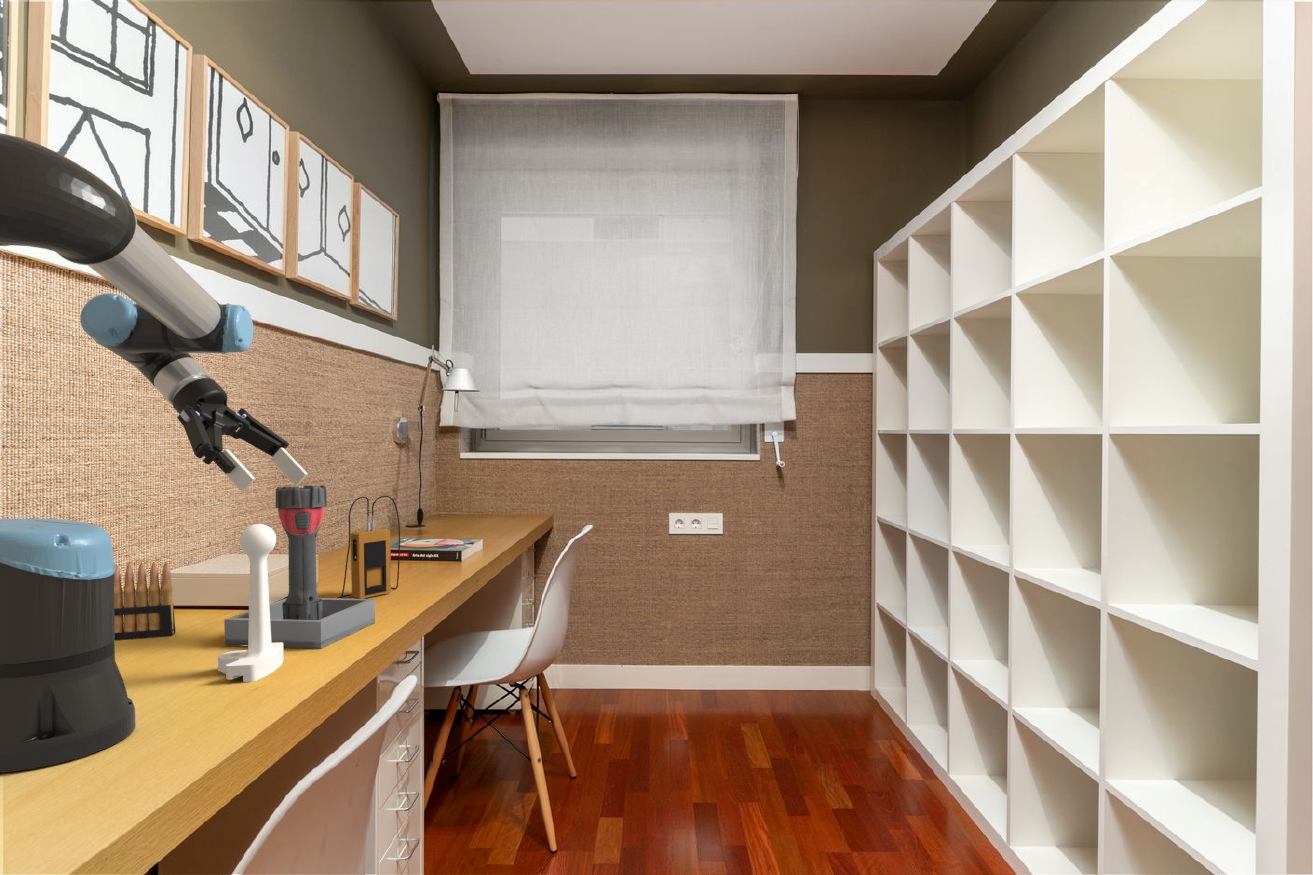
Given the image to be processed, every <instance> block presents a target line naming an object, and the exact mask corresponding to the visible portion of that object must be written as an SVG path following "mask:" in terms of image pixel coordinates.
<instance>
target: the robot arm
mask: <svg viewBox="0 0 1313 875" xmlns="http://www.w3.org/2000/svg"><path fill="white" fill-rule="evenodd" d="M137 219H138V218H137V216H136V213H135V211H134V209H133V208H132V206H131V205H130V204H129V202H127V200H125V199H124V198H123V197H122V196H121V195H120V194H119V192H117V191H116V190H115V189H113V188H112V187H111V186H110V185H109V184H108V183H106V182H105V181H104V180H103V179H101V178H100V177H98V176H97V175H96V174H94V173H92V172H91V171H89V170H88V169H87V168H85V167H84V166H81V165H80V164H78V163H77V162H75V161H73V160H71V159H70V158H67V156H65V155H63V154H62V153H61V154H60V153H58V152H57V151H55V150H53V149H50V148H48V147H46V146H43V145H42V144H40V143H36V142H33V141H31V140H28V139H25V138H22V137H20V136H14V135H11V134H6V133H2V132H1V133H0V247H9V246H19V247H20V246H21V247H31V248H38V249H44V250H49V251H52V252H55V253H56V254H58V255H59V256H60V257H61V258H63V259H65V260H66V261H67V262H71V263H73V264H76V265H83V266H88V267H89V268H91V269H92V270H93V271H95V272H96V273H97V274H98V275H100V276H101V277H102V278H103V279H105V280H106V281H107V282H108V283H110V284H111V285H113V286H114V287H115V288H116V289H118V290H119V291H120V292H121V293H123V294H124V295H125V296H126V297H128V298H125V297H123V296H122V295H119V294H116V293H102V294H97V295H96V296H93V297H92V298H91V299H89V300H88V301H87V302H86V303H85V305H83V307H82V309H81V311H80V312H81V313H80V317H79V318H80V320H79V321H80V325H81V328H82V330H83V332H85V333H86V335H88V336H89V337H90V338H92V339H93V340H94V341H95V343H97V345H99V346H102V347H104V348H106V349H107V350H109V351H110V352H112V353H114V354H116V355H117V356H119V357H120V358H121V359H123V360H124V361H126V362H127V363H128V364H131V365H132V366H133V367H135V368H136V369H137V370H138V371H139V372H140V373H141V374H142V375H143V376H144V377H145V378H146V380H147V381H149V382H150V383H151V385H152V386H153V387H154V388H155V389H156V390H157V391H158V392H159V393H160V394H161V395H162V396H163V397H162V398H163V399H164V400H165V401H167V402H168V403H169V405H172V407H173V408H174V410H175V411H176V412H177V413H178V415H177V417H176V418H177V420H178V421H179V423H180V424H181V425H182V426H183V428H184V431H185V433H186V435H187V438H188V441H189V444H190V447H191V449H192V452H193V454H194V456H195V457H197V458H198V459H202V461H203V463H204V464H206V465H210V464H211V465H212V462H214V463H215V465H216V466H217V467H218V468H219V469H220V470H221V471H222V473H223V474H225V475H226V476H227V477H228V478H229V480H230V481H231V482H232V483H233V484H234V485H235V487H237V489H238V490H239V491H241V493H242V492H246V491H247V489H248V488H249V487H250V486H252V484H253V483H254V482H255V481H256V480H257V478H256V477H255V476H254V475H253V474H252V473H251V472H250V471H249V469H248V468H246V467H245V465H244V464H243V463H242V462H241V461H240V460H239V459H238V458H237V457H236V456H235V455H234V453H232V452H231V450H230V449H224V446H223V436H229V437H231V438H233V439H235V440H239V439H241V440H242V441H244V442H245V443H247V444H249V445H251V446H253V447H254V448H257V449H258V450H259V451H262V452H264V453H265V454H267V455H269V456H271V458H270V460H271V461H272V462H273V464H275V466H277V467H278V469H279V470H280V471H281V472H283V474H284V475H285V476H286V477H287V478H288V479H289V480H290V482H292V484H293V485H294V487H298V486H300V484H301V483H302V482H303V481H304V479H305V478H306V477H307V476H308V475H309V474H308V472H307V471H306V470H305V469H304V468H303V467H302V466H301V465H300V463H298V462H297V460H296V459H294V458H293V456H292V455H290V453H289V452H288V451H287V450H286V449H287V448H288V447H289V445H290V442H288V441H287V440H285V439H284V438H282V437H281V436H280V435H278V434H277V433H275V432H274V431H273V430H272V429H270V428H268V427H267V426H266V425H264V424H263V423H262V422H260V421H259V420H257V419H256V418H254V417H253V416H252V415H251V414H250V413H249V412H248V411H247V410H246V409H245V408H239V409H238V410H237V411H235V410H233V409H232V408H230V407H229V406H228V393H227V392H226V391H225V390H224V388H223V387H221V385H219V383H218V382H217V381H216V380H215V379H213V378H212V376H211V374H210V372H208V371H207V370H206V369H205V368H204V367H203V366H202V365H201V364H200V363H199V362H198V361H197V360H196V359H195V358H194V357H193V356H192V355H191V354H224V355H226V354H228V353H244V352H246V351H248V350H249V348H250V347H251V346H252V343H253V339H254V322H253V318H252V315H251V314H250V311H249V310H248V309H247V308H246V307H245V306H243V305H240V304H231V303H225V304H222V303H221V304H220V303H219V302H218V301H217V300H216V299H215V298H214V297H213V296H212V295H211V294H210V293H209V292H208V291H207V290H206V289H205V288H203V287H202V285H201V284H199V283H198V282H197V281H196V280H195V278H193V277H192V276H191V275H190V273H188V272H187V271H186V270H185V269H184V268H183V267H182V266H181V265H179V263H178V262H177V261H176V260H175V259H174V258H173V257H171V255H170V254H168V252H166V251H165V250H164V249H163V248H162V247H161V246H160V244H158V243H157V242H156V241H155V240H154V239H153V238H152V237H151V236H150V235H148V233H146V231H145V230H144V229H142V228H141V226H140V225H139V224H138V220H137ZM133 302H134V303H133ZM190 353H191V354H190ZM223 449H224V450H223ZM203 457H204V458H203ZM113 552H114V551H113V543H112V538H111V536H110V535H109V533H108V532H107V530H105V529H104V528H101V527H100V526H98V525H96V524H93V523H88V522H83V521H77V520H75V521H74V520H68V519H55V518H54V519H53V518H21V517H20V518H2V519H0V773H8V772H10V773H11V772H18V771H24V770H25V771H26V770H32V769H36V768H43V767H47V766H52V765H56V764H61V763H65V762H68V761H71V760H76V759H80V758H83V757H85V756H88V755H89V756H90V755H92V754H94V753H97V752H100V751H102V750H104V749H105V750H106V749H107V748H110V747H111V746H114V745H116V744H118V743H119V742H121V741H123V740H125V739H126V738H127V737H129V736H130V735H131V734H133V732H134V730H135V729H136V708H135V704H134V702H133V700H132V699H131V698H129V697H128V693H127V688H126V685H125V682H124V680H123V676H122V674H121V672H120V669H119V666H118V664H117V661H116V654H115V648H116V647H115V641H114V639H115V633H114V572H115V569H116V568H115V564H116V563H115V560H114V553H113Z"/></svg>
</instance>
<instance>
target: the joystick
mask: <svg viewBox="0 0 1313 875" xmlns="http://www.w3.org/2000/svg"><path fill="white" fill-rule="evenodd" d="M276 542H277V535H276V533H275V531H274V529H272V528H271V527H270V526H268V525H266V524H262V523H257V524H256V523H255V524H251V525H249V526H247V527H246V528H245V529H244V530H243V531H242V533H241V534H240V538H239V546H240V548H241V550H242V551H243V552H244V553H245V555H247V557H248V559H249V588H248V590H249V594H248V596H249V597H248V599H249V600H248V611H249V631H248V646H247V649H246V650H244V649H243V650H241V649H240V650H231V651H226V652H223V653H221V654H219V655H217V671H218V672H221V674H223V675H225V679H226V680H234V679H237V678H239V677H242V682H243V683H251V682H256V681H258V680H260V679H262V678H265V677H266V676H269V675H271V674H272V673H274V672H275V671H277V670H278V669H279V668H280V667H281V665H282V664H283V663H284V647H283V643H282V642H277V643H271V626H270V607H269V604H270V594H269V593H270V592H269V573H268V557H269V554H270V553H271V552H272V551H273V549H274V548H275V546H276V544H277V543H276Z"/></svg>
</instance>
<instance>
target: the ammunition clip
mask: <svg viewBox="0 0 1313 875" xmlns="http://www.w3.org/2000/svg"><path fill="white" fill-rule="evenodd" d="M169 565H170V564H169V562H168V561H165V562H164V564H163V568H162V573H161V586H160V578H159V570H158V566H157V564H156V561H154V562H152V564H151V566H150V570H149V584H148V583H147V574H146V573H147V571H146V569H145V566H144V563H143V562H141V563H140V564H139V566H138V570H137V575H136V576H137V578H136V588H135V576H134V575H135V574H134V570H133V567H132V565H131V563H127V566H126V568H125V572H124V587H122V576H121V570H120V567H119V566H118V564H117V563H115V568H116V569H115V572H114V633H115V639H114V642H116V641H126V640H127V641H128V640H129V641H130V640H140V639H155V638H166V637H173V635H175V634H176V632H177V631H176V619H175V607H174V601H173V600H174V596H173V595H174V594H173V592H174V591H173V590H174V589H173V585H172V578H171V574H172V573H171V567H170V566H169Z"/></svg>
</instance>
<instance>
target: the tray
mask: <svg viewBox="0 0 1313 875" xmlns="http://www.w3.org/2000/svg"><path fill="white" fill-rule="evenodd" d="M319 598H320V599H322V600H323V605H322V619H320V620H290V619H283V608H282V604H283V602H285V601H286V599H287V597H285V598H284V599H280V600H277V601H273V602H271V603H269V607H270V626H271V643H277V642H282V643H283V648H289V649H290V648H293V649H296V648H297V649H298V648H299V649H319V650H320V649H324V648H325V647H327V646H329V645H331V644H334V643H336V642H337V641H340V640H342V639H344V638H346V637H348V636H350V635H353V634H355V633H356V632H358V631H360V630H363V629H365V628H367V627H369V626H372V625H373V624H375V623H376V611H375V610H376V605H375V604H376V602H375V601H376V600H375V599H374V598H371V599H370V598H365V599H357V598H342V599H341V598H339V599H338V597H336V598H334V597H333V598H332V597H331V598H328V597H324V598H323V597H319ZM223 622H224V624H223V625H224V646H225V645H248V631H249V610H248V611H245V612H243V613H239V614H237V615H234V616H231V617H227V618H224V620H223Z"/></svg>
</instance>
